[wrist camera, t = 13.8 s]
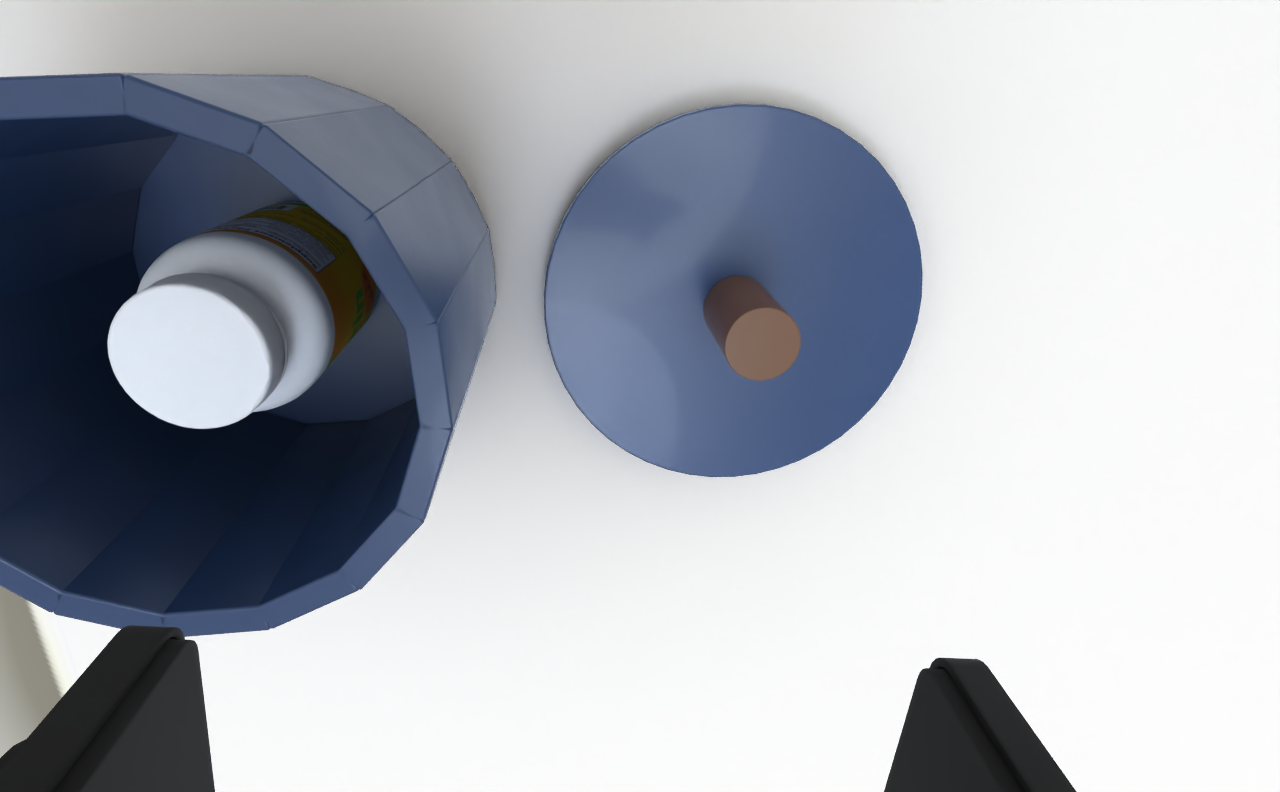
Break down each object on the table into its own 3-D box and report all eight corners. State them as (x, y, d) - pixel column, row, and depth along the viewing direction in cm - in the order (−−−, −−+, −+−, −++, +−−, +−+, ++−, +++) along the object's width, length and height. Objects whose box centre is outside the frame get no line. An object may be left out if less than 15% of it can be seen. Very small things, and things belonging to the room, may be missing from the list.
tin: (34, 182, 27) (-357, 257, 16) (373, 6, 26) (217, -52, 15) (264, 485, 32) (95, 709, 21) (555, 349, 31) (547, 507, 20)
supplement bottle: (344, 366, 30) (249, 487, 21) (208, 296, 29) (44, 394, 20) (407, 250, 29) (334, 327, 20) (267, 169, 27) (120, 213, 18)
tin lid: (476, 210, 29) (454, 239, 24) (843, 31, 28) (908, 19, 22) (639, 515, 34) (652, 594, 29) (952, 378, 33) (1024, 434, 28)
